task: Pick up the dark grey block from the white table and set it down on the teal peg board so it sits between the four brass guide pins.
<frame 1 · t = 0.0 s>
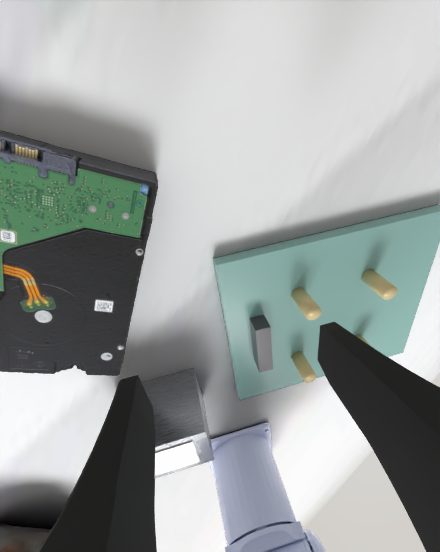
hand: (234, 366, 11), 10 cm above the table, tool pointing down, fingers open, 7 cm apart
teal peg board: (323, 311, 25), on the table
dark grey block: (162, 392, 27), on the table
grey lumpy piece: (43, 525, 35), on the table
disk drive: (56, 262, 18), on the table
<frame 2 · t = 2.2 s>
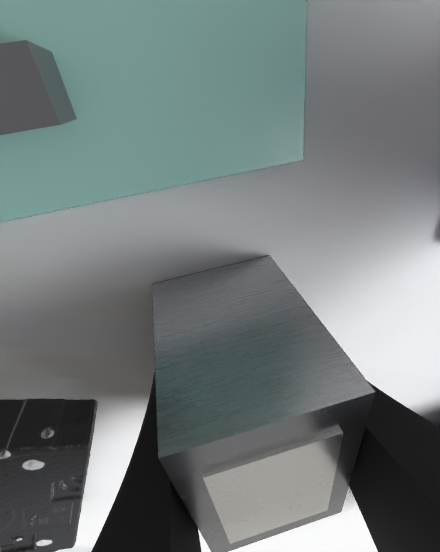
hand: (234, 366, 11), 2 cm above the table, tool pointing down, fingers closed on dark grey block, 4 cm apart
dark grey block: (224, 335, 12), on the table, touching gripper
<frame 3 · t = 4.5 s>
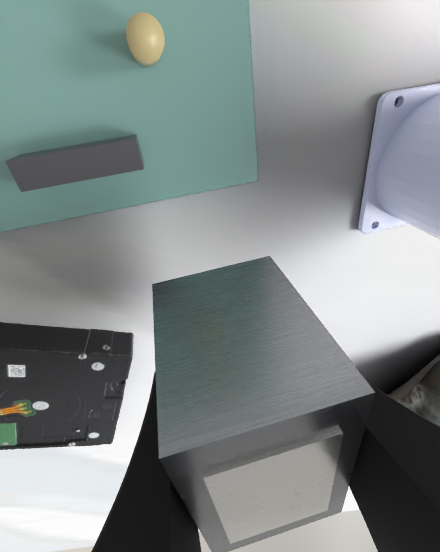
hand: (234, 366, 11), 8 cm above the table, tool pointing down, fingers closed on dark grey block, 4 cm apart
dark grey block: (224, 335, 12), point 7 cm above the table, touching gripper
grey lumpy piece: (409, 377, 32), on the table
disk drive: (16, 370, 20), on the table
when the fingers open (4 cm above the table, at t = 6.8 s): dark grey block drops 1 cm, resting on teal peg board.
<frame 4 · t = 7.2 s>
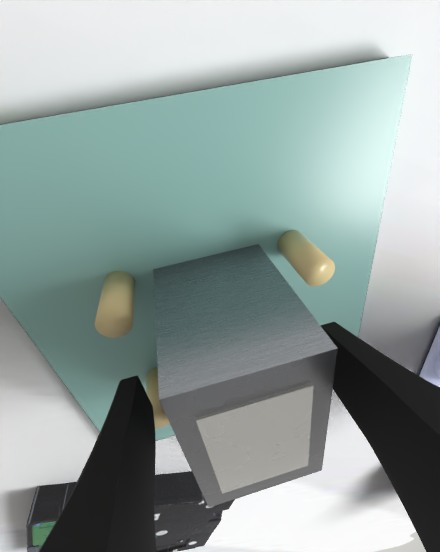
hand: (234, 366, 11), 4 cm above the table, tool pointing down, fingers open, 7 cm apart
teal peg board: (213, 302, 14), on the table
dark grey block: (219, 318, 14), point 1 cm above the table, touching teal peg board
disk drive: (134, 496, 25), on the table
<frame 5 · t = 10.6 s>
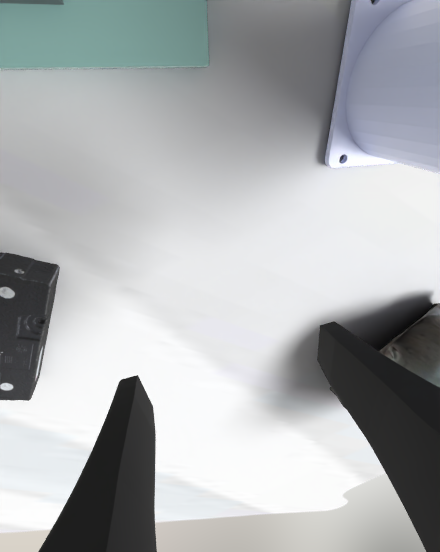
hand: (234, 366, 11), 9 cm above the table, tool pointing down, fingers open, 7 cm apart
grey lumpy piece: (388, 347, 30), on the table
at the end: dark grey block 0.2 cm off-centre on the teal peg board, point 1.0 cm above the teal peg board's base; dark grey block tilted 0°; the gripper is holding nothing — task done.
